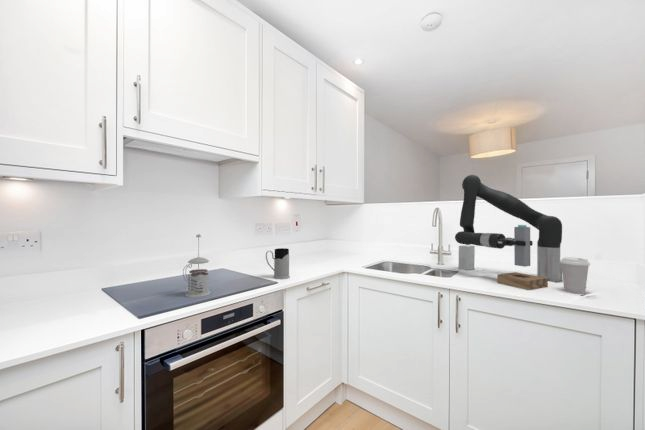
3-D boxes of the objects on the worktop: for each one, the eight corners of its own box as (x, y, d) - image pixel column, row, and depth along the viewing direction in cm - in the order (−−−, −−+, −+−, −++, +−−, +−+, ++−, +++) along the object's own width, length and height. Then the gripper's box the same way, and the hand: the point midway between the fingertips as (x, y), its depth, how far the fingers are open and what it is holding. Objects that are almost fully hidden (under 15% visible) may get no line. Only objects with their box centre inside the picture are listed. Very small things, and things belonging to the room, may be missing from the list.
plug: (520, 264, 132) (520, 224, 132) (530, 265, 128) (530, 224, 128) (514, 265, 130) (514, 224, 130) (524, 266, 126) (524, 225, 126)
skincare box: (465, 267, 176) (465, 244, 176) (475, 269, 171) (475, 245, 171) (457, 269, 171) (458, 245, 171) (467, 270, 166) (467, 246, 166)
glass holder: (284, 279, 141) (284, 250, 141) (261, 277, 146) (261, 249, 146) (292, 276, 149) (292, 248, 149) (270, 274, 154) (270, 247, 154)
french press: (202, 297, 110) (202, 235, 110) (176, 296, 112) (176, 234, 112) (215, 291, 120) (215, 233, 120) (191, 290, 122) (191, 233, 122)
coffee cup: (582, 298, 112) (582, 261, 112) (555, 291, 121) (555, 257, 121) (594, 295, 116) (595, 259, 116) (567, 289, 124) (567, 256, 124)
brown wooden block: (515, 282, 138) (515, 272, 138) (547, 289, 125) (547, 278, 125) (497, 284, 132) (497, 274, 132) (528, 292, 120) (528, 280, 120)
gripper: (483, 233, 139) (519, 235, 123) (501, 232, 145) (538, 234, 129) (483, 248, 139) (519, 252, 123) (501, 247, 145) (538, 250, 129)
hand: (528, 243), depth 126 cm, fingers closed on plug, 4 cm apart
